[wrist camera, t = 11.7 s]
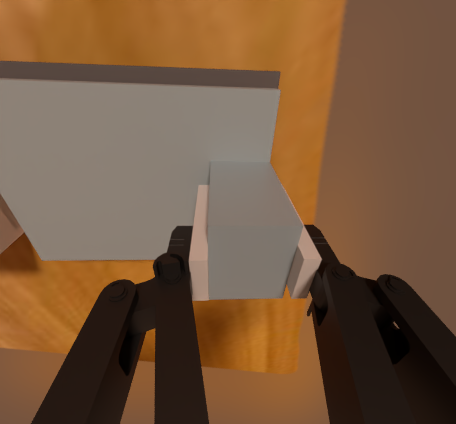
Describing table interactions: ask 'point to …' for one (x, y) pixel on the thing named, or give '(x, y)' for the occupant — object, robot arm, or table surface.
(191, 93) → the lid
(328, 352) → the robot arm
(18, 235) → the tub
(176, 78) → the mat
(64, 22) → the table surface
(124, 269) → the table surface
